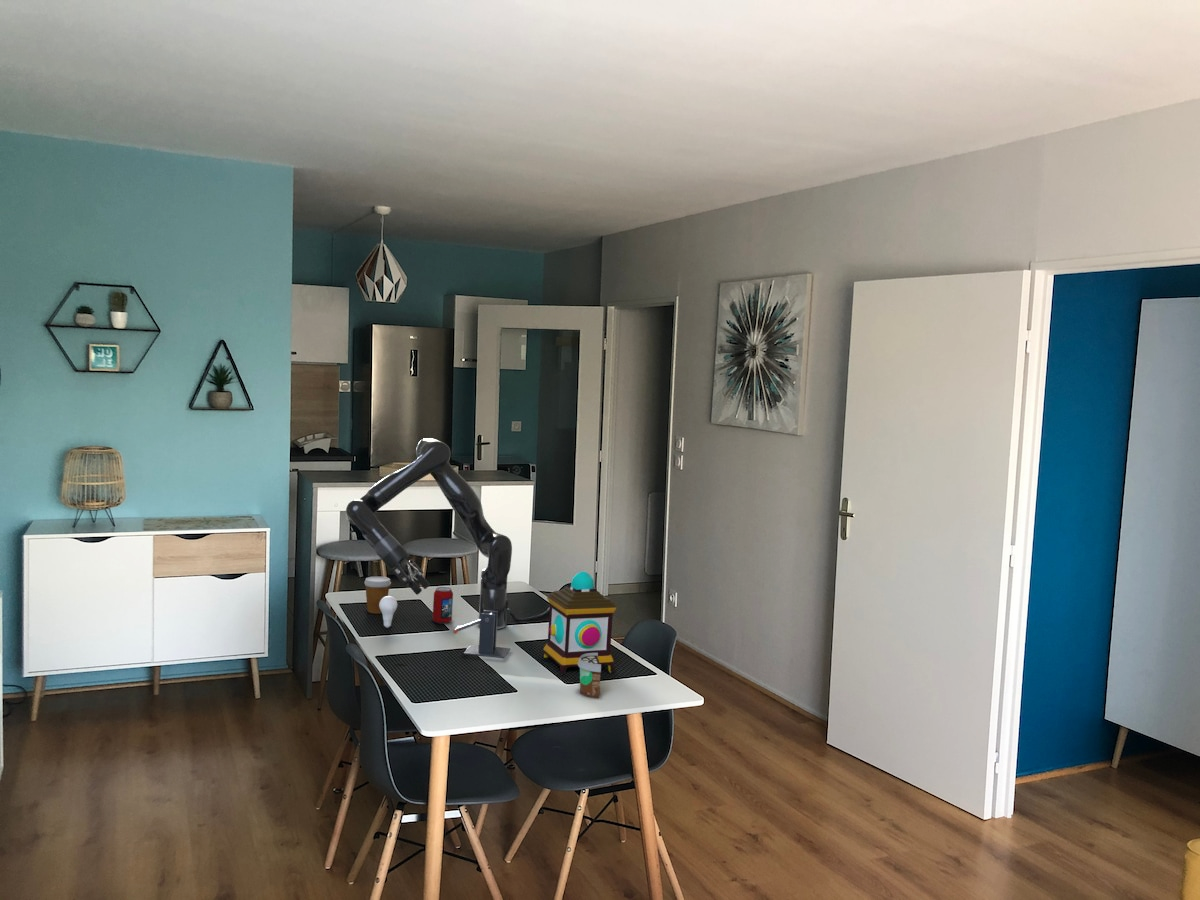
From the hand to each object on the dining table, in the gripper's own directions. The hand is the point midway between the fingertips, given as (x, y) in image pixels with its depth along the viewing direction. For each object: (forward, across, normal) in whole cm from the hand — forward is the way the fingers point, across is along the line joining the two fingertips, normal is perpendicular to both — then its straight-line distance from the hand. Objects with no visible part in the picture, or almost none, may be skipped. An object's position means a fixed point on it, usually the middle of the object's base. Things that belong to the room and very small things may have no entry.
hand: (423, 590), depth 299 cm
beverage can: (+12, +34, +15) cm, 39 cm away
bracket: (+29, 0, -2) cm, 29 cm away
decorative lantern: (+50, -3, -22) cm, 55 cm away
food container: (+54, -26, -26) cm, 65 cm away
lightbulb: (+1, +20, +26) cm, 33 cm away
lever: (+20, 0, -5) cm, 20 cm away
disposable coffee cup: (-7, +40, +34) cm, 53 cm away
